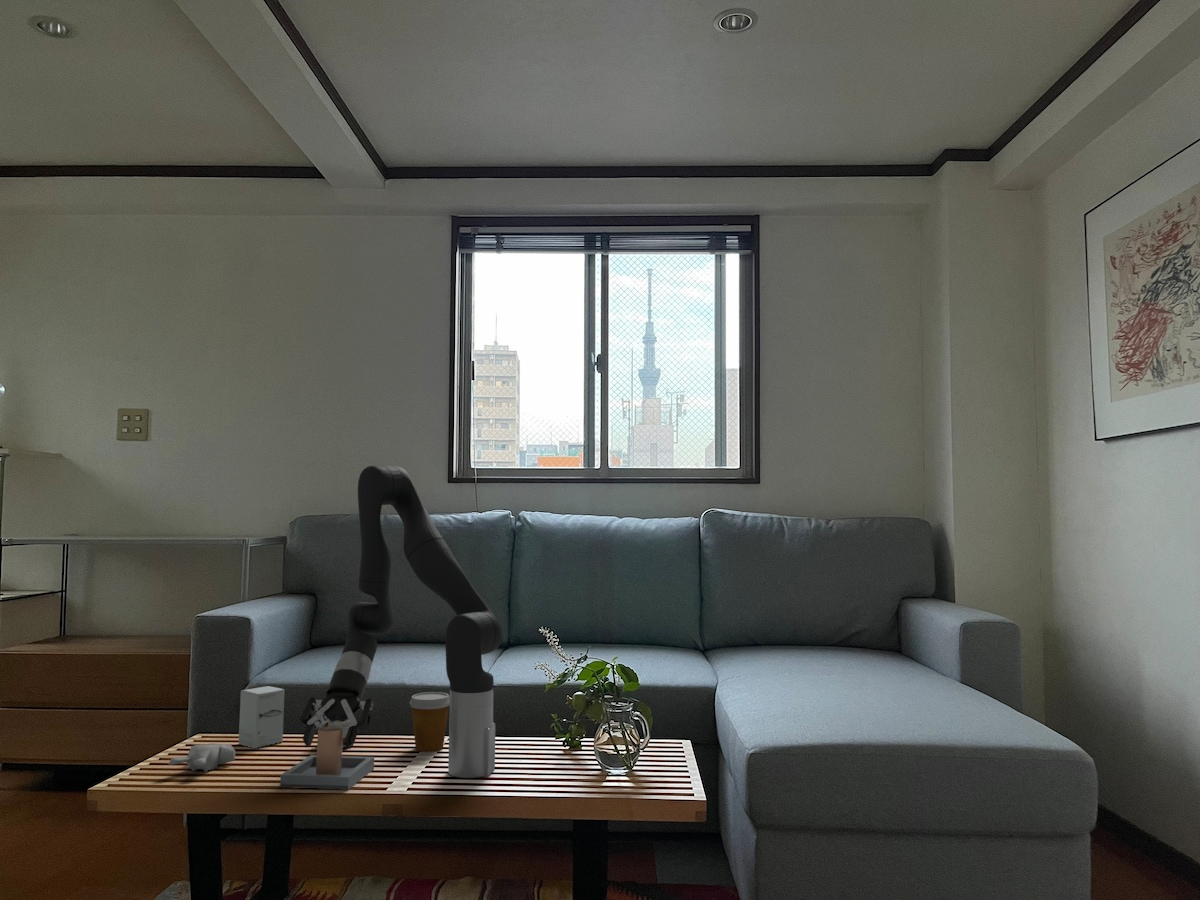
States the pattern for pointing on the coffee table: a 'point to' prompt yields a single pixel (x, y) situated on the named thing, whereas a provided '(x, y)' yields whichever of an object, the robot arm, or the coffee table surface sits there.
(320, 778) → the tray
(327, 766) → the tumbler
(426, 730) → the disposable coffee cup
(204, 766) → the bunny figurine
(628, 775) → the coffee table surface
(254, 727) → the supplement box
